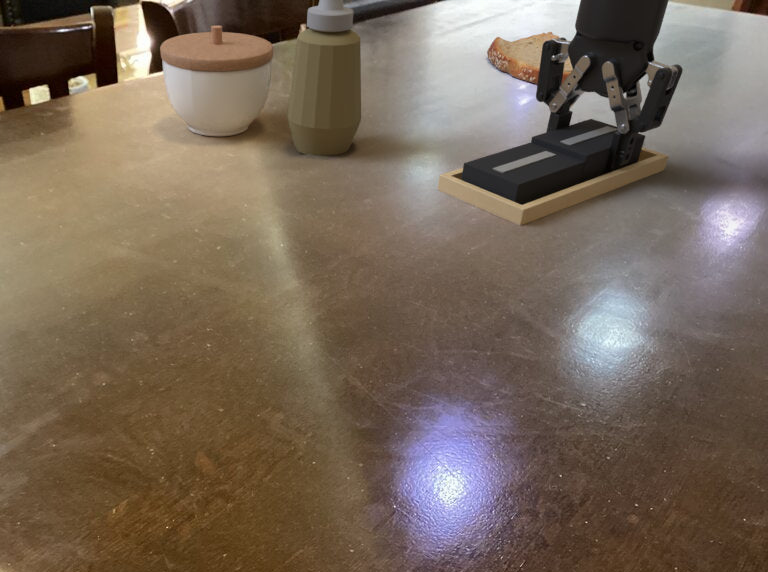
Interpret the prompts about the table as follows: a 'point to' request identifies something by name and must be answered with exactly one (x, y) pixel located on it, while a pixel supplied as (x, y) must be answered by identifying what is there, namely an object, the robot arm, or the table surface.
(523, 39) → the slice of bread
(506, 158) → the pad
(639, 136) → the pad
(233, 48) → the lidded bowl
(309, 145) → the squeeze bottle
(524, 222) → the tray
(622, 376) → the table surface
